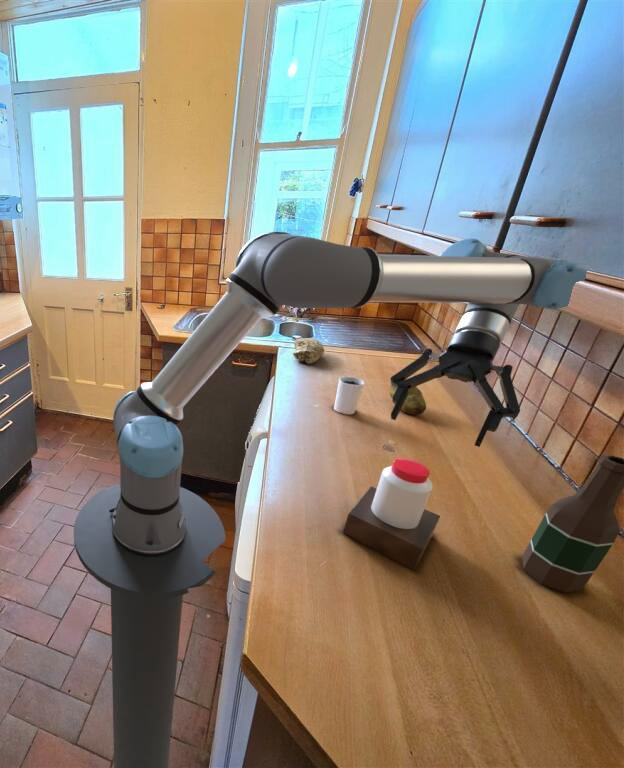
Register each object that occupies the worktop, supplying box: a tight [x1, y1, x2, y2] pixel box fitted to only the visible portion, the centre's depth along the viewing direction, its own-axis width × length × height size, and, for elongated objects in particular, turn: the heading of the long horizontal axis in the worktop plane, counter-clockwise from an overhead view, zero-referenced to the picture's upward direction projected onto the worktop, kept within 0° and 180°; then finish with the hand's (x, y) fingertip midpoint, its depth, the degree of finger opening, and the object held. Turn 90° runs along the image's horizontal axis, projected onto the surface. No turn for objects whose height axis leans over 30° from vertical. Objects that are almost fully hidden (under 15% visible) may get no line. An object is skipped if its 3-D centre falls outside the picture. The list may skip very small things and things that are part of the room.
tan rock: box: [292, 337, 325, 365], centre depth 168 cm, size 13×8×20 cm
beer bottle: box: [521, 454, 624, 593], centre depth 65 cm, size 8×8×24 cm
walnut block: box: [342, 485, 441, 571], centre depth 78 cm, size 12×12×5 cm
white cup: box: [333, 375, 365, 415], centre depth 124 cm, size 7×7×10 cm
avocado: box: [389, 384, 427, 416], centre depth 125 cm, size 8×13×8 cm, turn 159°
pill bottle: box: [371, 457, 434, 529], centre depth 75 cm, size 8×8×11 cm
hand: (432, 429), depth 79 cm, fingers open, 13 cm apart
